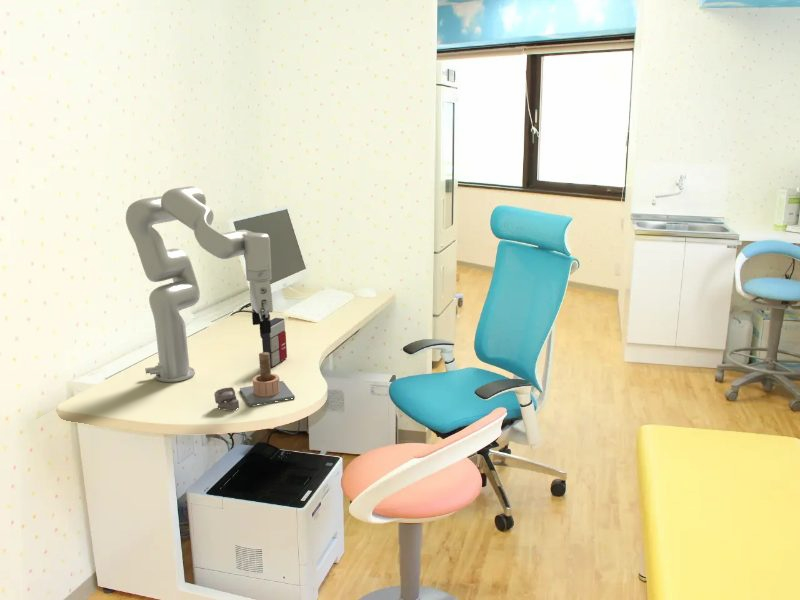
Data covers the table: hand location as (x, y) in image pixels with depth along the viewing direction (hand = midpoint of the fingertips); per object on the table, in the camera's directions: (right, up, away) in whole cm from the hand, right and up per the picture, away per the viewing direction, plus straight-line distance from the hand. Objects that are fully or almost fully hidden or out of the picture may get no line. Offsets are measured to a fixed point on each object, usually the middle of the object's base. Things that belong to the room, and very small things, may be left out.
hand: (261, 328), depth 217 cm
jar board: (+1, -21, +5) cm, 22 cm away
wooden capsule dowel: (+1, -19, +5) cm, 20 cm away
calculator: (-2, -14, +34) cm, 37 cm away
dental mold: (-10, -24, -3) cm, 26 cm away
